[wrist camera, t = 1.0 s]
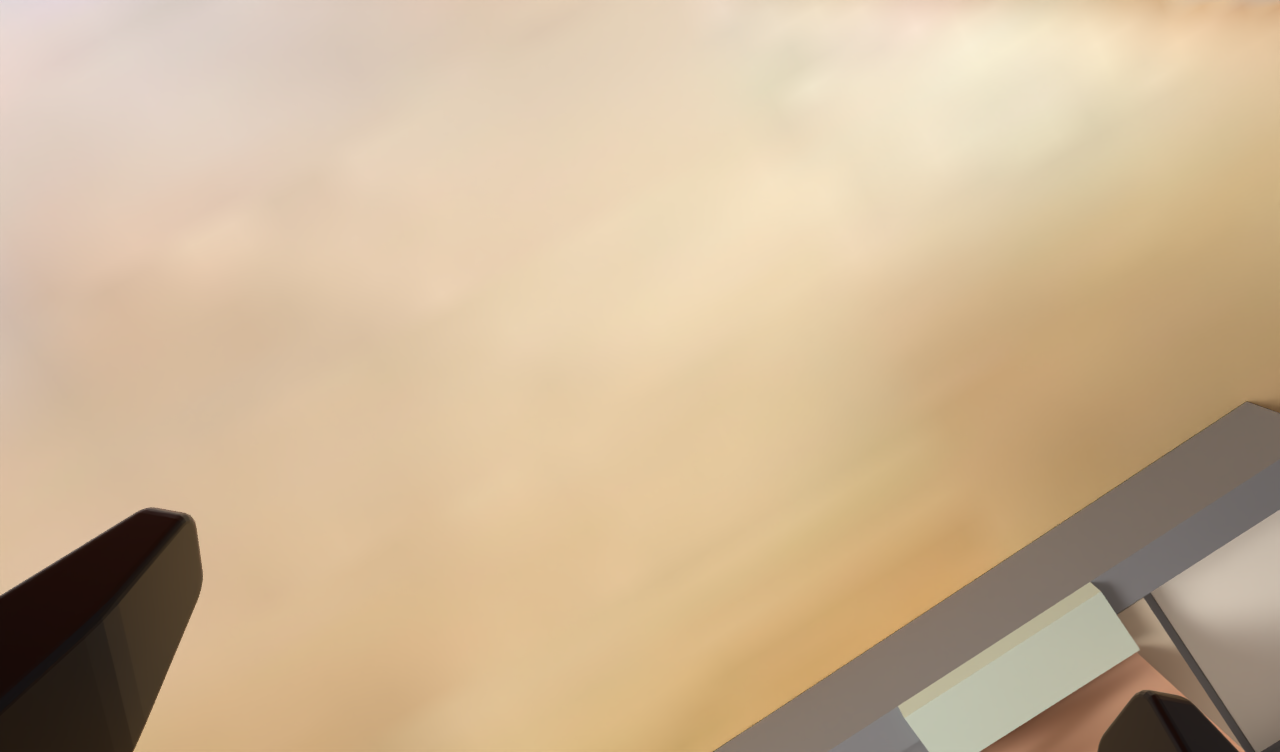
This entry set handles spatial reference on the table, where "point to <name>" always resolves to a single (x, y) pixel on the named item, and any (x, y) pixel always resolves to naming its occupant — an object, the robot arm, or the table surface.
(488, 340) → the table surface
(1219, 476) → the track
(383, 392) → the table surface
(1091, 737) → the salmon pink rectangular block
